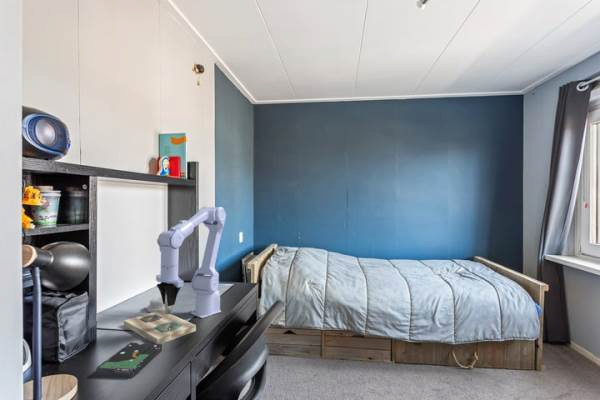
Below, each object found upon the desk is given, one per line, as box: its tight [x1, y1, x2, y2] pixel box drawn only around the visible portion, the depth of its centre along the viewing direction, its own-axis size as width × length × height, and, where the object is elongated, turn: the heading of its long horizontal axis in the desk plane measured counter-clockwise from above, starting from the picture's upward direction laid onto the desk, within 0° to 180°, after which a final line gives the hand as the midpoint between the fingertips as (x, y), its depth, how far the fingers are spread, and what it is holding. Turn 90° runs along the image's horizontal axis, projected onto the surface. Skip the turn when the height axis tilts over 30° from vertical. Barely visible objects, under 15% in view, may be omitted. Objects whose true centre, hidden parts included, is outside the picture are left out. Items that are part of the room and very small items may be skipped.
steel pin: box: [165, 291, 173, 315], centre depth 106 cm, size 3×3×8 cm
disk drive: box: [95, 342, 163, 379], centre depth 86 cm, size 10×3×15 cm
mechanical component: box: [146, 296, 165, 313], centre depth 129 cm, size 10×4×10 cm
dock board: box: [123, 310, 197, 345], centre depth 109 cm, size 14×24×2 cm, turn 53°
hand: (168, 304), depth 106 cm, fingers closed on steel pin, 2 cm apart
